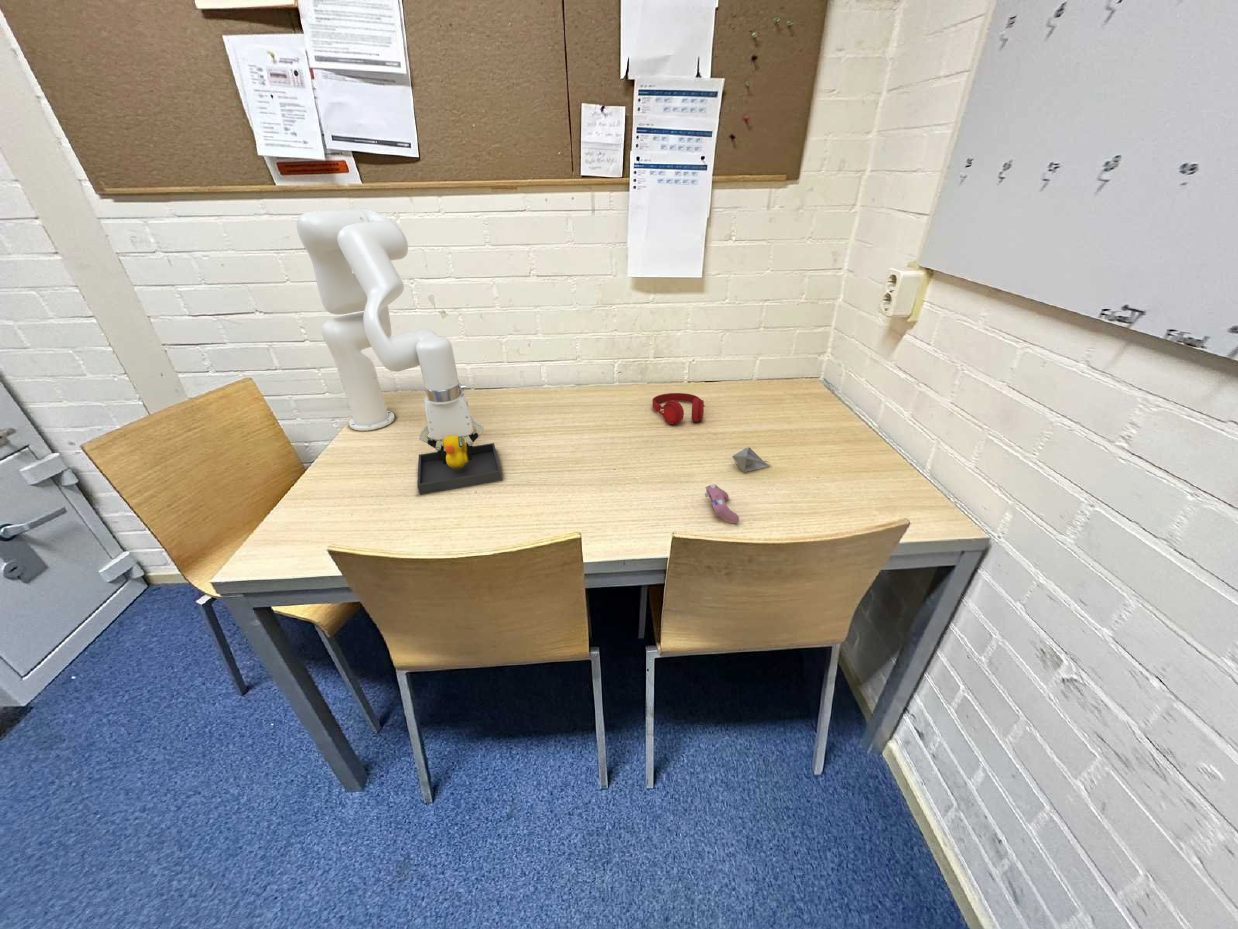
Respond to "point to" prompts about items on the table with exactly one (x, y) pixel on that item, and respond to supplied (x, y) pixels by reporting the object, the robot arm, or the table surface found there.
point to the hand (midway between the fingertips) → (457, 458)
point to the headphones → (678, 407)
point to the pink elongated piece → (721, 503)
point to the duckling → (455, 451)
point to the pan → (458, 470)
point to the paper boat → (748, 460)
